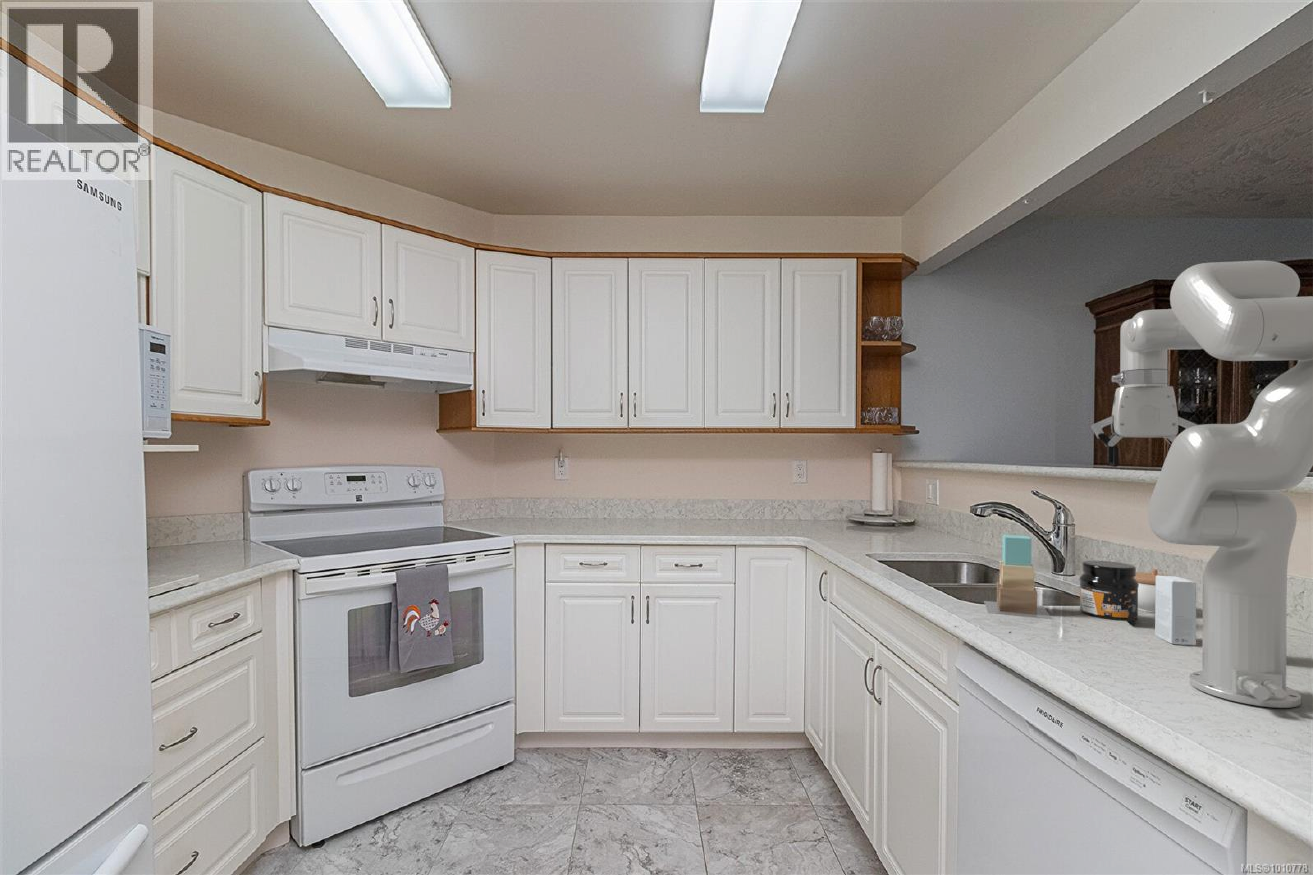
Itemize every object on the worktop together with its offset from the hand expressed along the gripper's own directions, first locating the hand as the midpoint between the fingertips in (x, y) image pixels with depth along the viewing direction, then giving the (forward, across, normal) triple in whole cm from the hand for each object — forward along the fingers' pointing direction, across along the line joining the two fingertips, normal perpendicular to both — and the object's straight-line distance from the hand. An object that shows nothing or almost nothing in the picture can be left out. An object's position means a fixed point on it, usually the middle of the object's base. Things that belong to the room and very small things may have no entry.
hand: (1142, 467), depth 130 cm
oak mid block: (+27, -21, +8) cm, 35 cm away
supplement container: (+34, -3, +12) cm, 36 cm away
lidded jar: (+34, +9, +26) cm, 43 cm away
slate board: (+33, -21, +8) cm, 40 cm away
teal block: (+22, -21, +8) cm, 32 cm away
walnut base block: (+32, -21, +8) cm, 39 cm away
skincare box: (+34, +5, -1) cm, 34 cm away
